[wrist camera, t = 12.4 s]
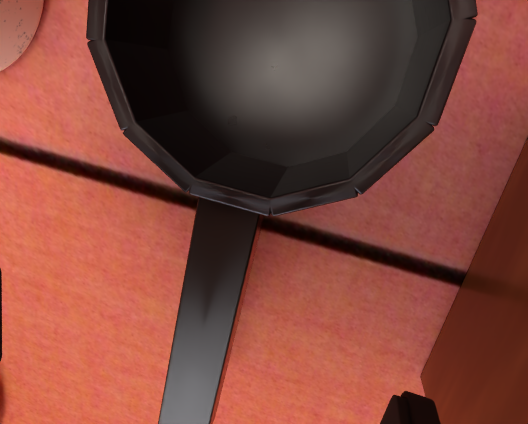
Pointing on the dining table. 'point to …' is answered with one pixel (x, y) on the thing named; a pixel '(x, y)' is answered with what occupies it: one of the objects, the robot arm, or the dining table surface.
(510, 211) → the wooden cube
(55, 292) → the dining table surface
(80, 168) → the dining table surface
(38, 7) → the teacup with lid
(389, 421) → the robot arm
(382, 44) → the pan
